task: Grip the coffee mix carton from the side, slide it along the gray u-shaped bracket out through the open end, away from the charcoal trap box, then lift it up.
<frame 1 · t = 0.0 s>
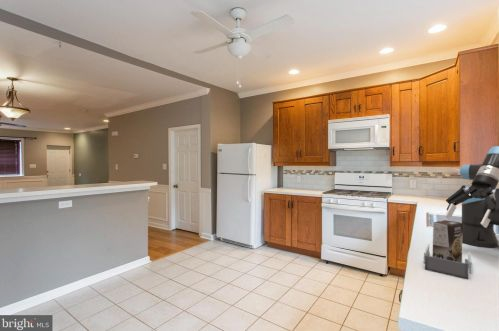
hand: (464, 221, 104), 15 cm above the countertop, tool tilted 35°, fingers open, 13 cm apart
gray u-shaped bracket: (447, 263, 100), on the countertop
coffee box: (447, 263, 100), on the countertop
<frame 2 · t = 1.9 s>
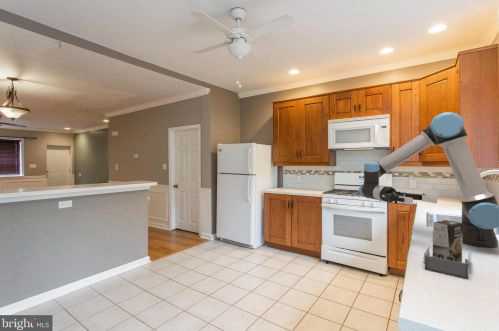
hand: (424, 200, 109), 23 cm above the countertop, tool horizontal, fingers open, 13 cm apart
nothing on the countertop moved.
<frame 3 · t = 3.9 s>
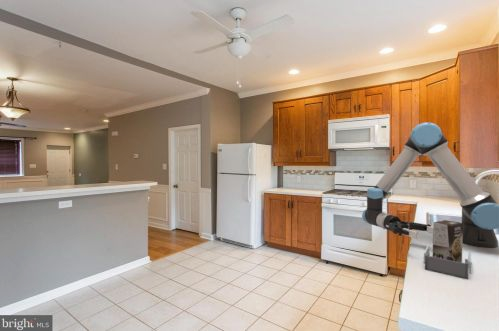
hand: (429, 234, 106), 9 cm above the countertop, tool horizontal, fingers open, 13 cm apart
nothing on the countertop moved.
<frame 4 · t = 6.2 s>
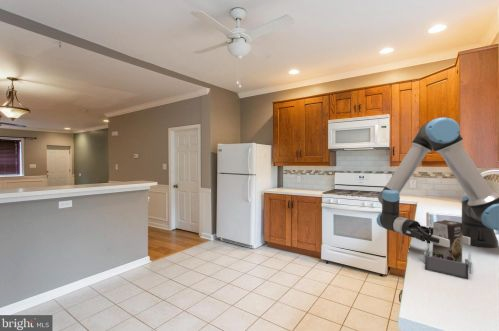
hand: (459, 242, 95), 10 cm above the countertop, tool horizontal, fingers closed on coffee box, 10 cm apart
coffee box: (447, 263, 100), on the countertop, touching gripper
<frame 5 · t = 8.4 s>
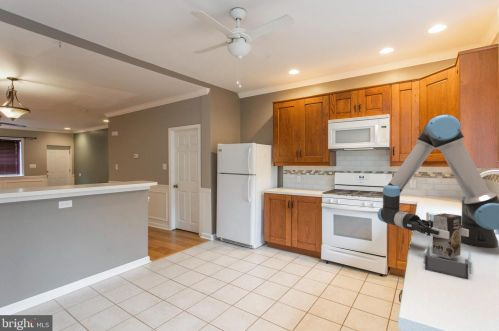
hand: (458, 234, 99), 11 cm above the countertop, tool horizontal, fingers closed on coffee box, 10 cm apart
coffee box: (446, 255, 104), point 2 cm above the countertop, touching gripper
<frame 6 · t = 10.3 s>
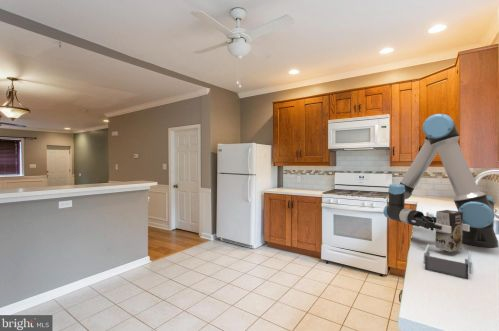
hand: (459, 229, 107), 11 cm above the countertop, tool horizontal, fingers closed on coffee box, 10 cm apart
coffee box: (448, 248, 111), point 2 cm above the countertop, touching gripper
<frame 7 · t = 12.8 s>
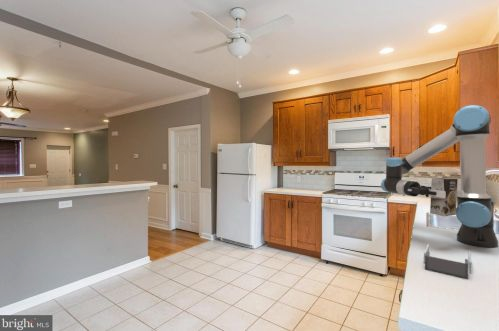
hand: (454, 194, 109), 26 cm above the countertop, tool horizontal, fingers closed on coffee box, 10 cm apart
coffee box: (443, 214, 114), point 16 cm above the countertop, touching gripper
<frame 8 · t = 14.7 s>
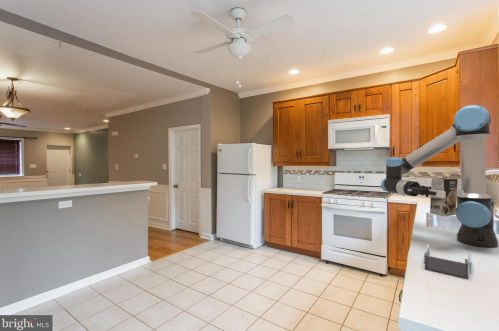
hand: (454, 194, 109), 26 cm above the countertop, tool horizontal, fingers closed on coffee box, 10 cm apart
coffee box: (442, 214, 114), point 16 cm above the countertop, touching gripper
at the end: the gripper is holding coffee box; coffee box inside the target area (2.1 cm from its centre), point 15.9 cm above the countertop; coffee box touching gripper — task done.
